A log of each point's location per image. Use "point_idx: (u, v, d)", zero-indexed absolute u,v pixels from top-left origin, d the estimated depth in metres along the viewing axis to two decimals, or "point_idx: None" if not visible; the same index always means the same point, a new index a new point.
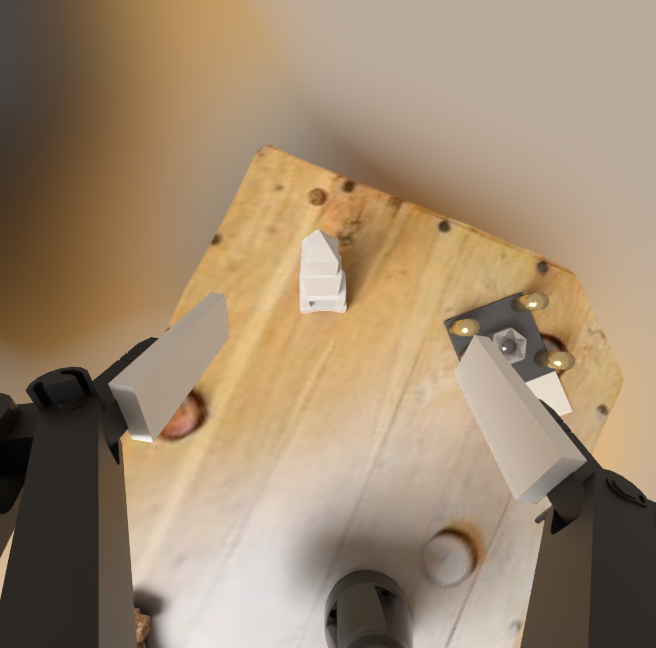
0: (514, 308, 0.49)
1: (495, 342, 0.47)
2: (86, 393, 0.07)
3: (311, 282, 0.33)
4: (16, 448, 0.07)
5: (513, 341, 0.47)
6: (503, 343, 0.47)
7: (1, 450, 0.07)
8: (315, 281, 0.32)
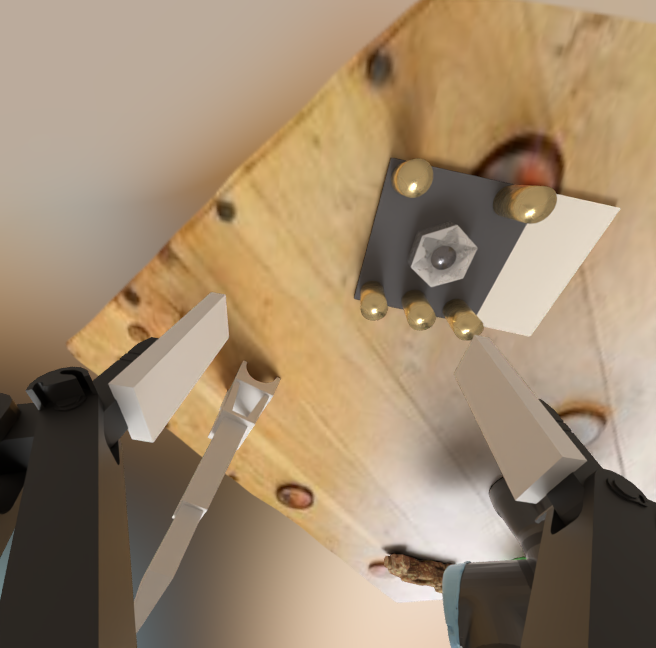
0: None
1: (422, 272, 0.29)
2: (86, 393, 0.07)
3: None
4: (16, 448, 0.07)
5: (442, 248, 0.27)
6: (433, 264, 0.28)
7: (2, 451, 0.07)
8: None
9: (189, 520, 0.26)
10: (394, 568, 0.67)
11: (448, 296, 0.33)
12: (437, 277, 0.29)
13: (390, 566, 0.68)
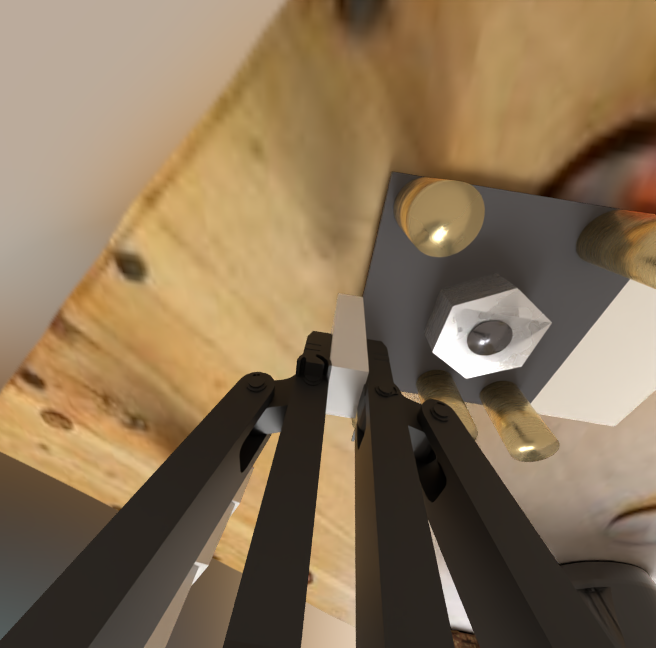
0: None
1: (452, 359, 0.17)
2: (322, 377, 0.09)
3: None
4: (280, 413, 0.09)
5: (487, 324, 0.16)
6: (470, 347, 0.17)
7: (271, 415, 0.09)
8: None
9: None
10: None
11: (489, 377, 0.21)
12: (477, 365, 0.17)
13: None
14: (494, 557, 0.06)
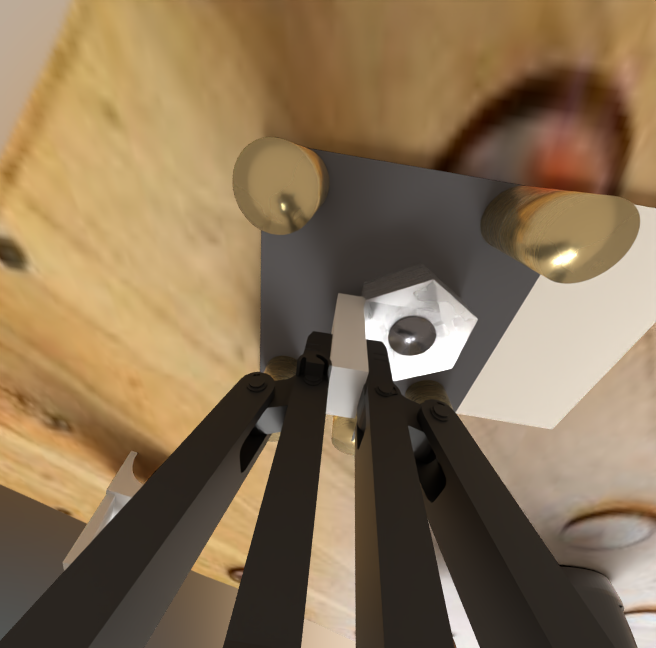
0: None
1: None
2: (322, 377, 0.09)
3: None
4: (280, 413, 0.09)
5: (406, 321, 0.14)
6: (393, 347, 0.15)
7: (271, 415, 0.09)
8: None
9: None
10: None
11: None
12: (404, 366, 0.16)
13: None
14: (494, 557, 0.06)
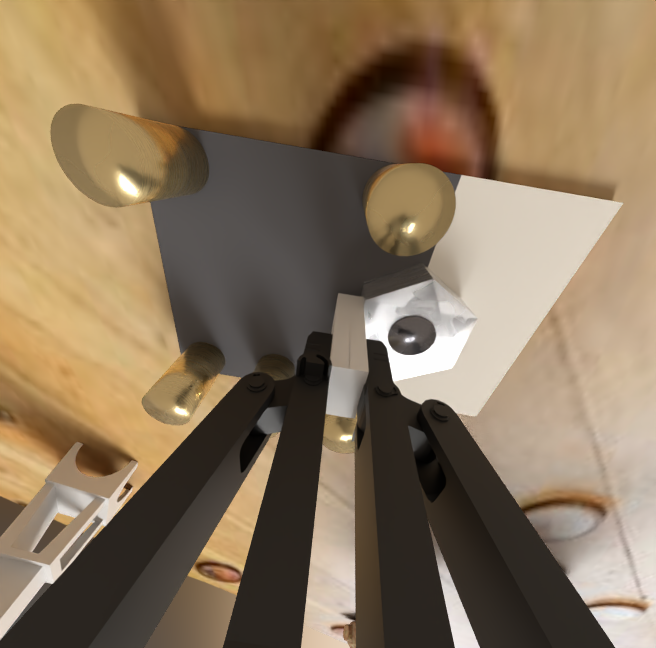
0: None
1: None
2: (322, 377, 0.09)
3: None
4: (280, 413, 0.09)
5: (406, 320, 0.14)
6: (393, 347, 0.15)
7: (271, 415, 0.09)
8: None
9: None
10: (355, 643, 0.54)
11: None
12: (404, 366, 0.16)
13: (350, 639, 0.55)
14: (494, 557, 0.06)
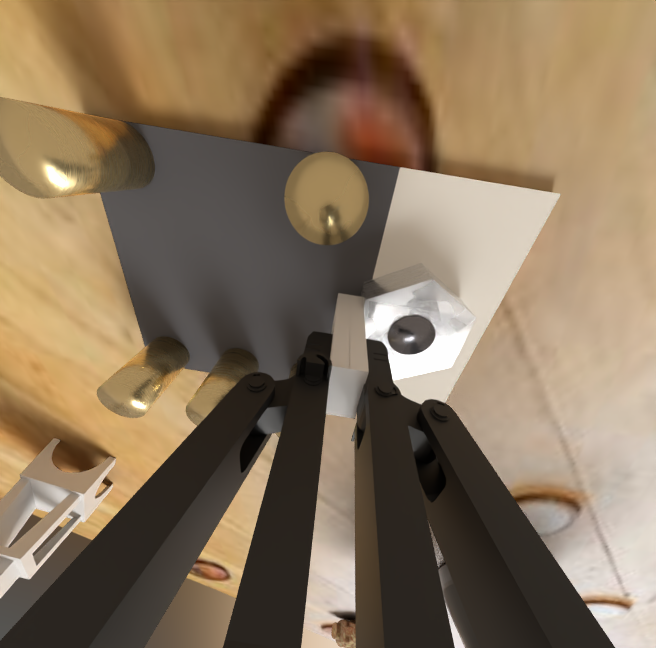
0: (129, 189, 0.14)
1: None
2: (322, 377, 0.09)
3: None
4: (280, 414, 0.09)
5: (406, 320, 0.14)
6: (392, 346, 0.15)
7: (271, 415, 0.09)
8: None
9: None
10: (343, 641, 0.54)
11: (291, 356, 0.19)
12: (403, 365, 0.16)
13: (338, 638, 0.55)
14: (494, 557, 0.06)
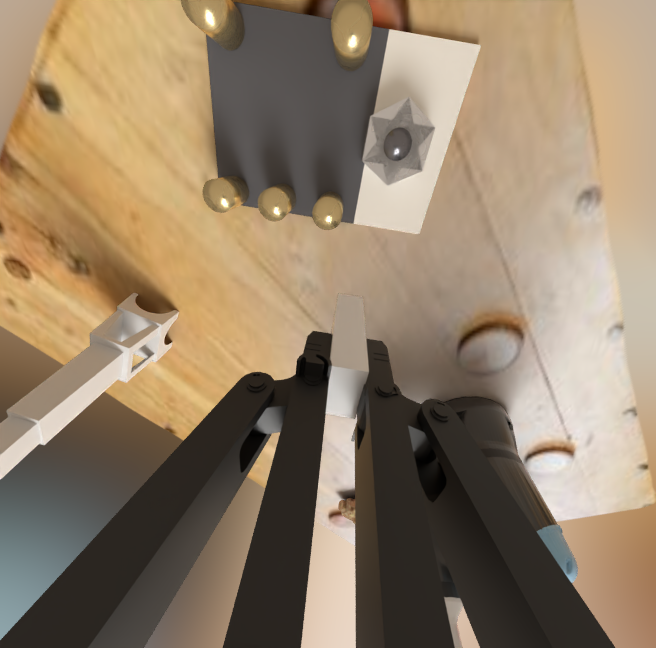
0: (229, 48, 0.23)
1: (376, 167, 0.25)
2: (322, 377, 0.09)
3: (63, 422, 0.28)
4: (280, 413, 0.09)
5: (394, 131, 0.24)
6: (386, 154, 0.25)
7: (271, 415, 0.09)
8: (59, 423, 0.28)
9: (14, 430, 0.24)
10: (348, 510, 0.66)
11: (319, 189, 0.29)
12: (393, 172, 0.26)
13: (344, 509, 0.67)
14: (494, 557, 0.06)
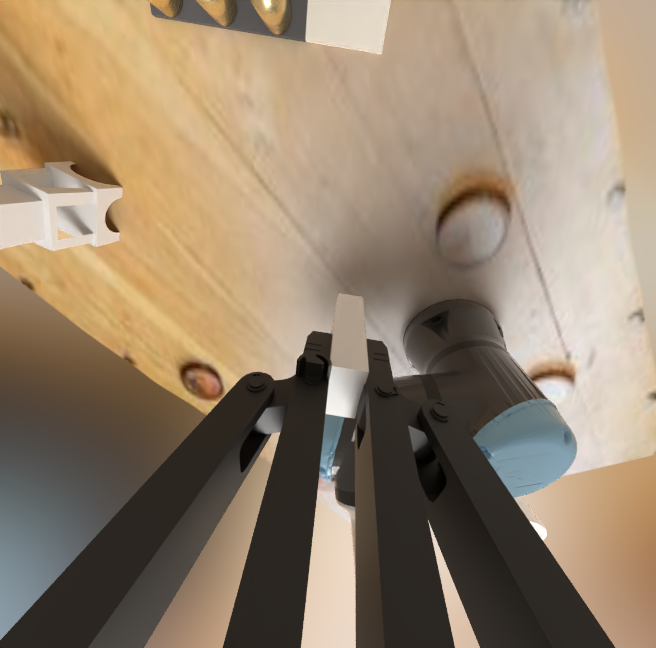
0: None
1: None
2: (322, 377, 0.09)
3: None
4: (280, 413, 0.09)
5: None
6: None
7: (271, 415, 0.09)
8: None
9: None
10: None
11: None
12: None
13: None
14: (494, 557, 0.06)
